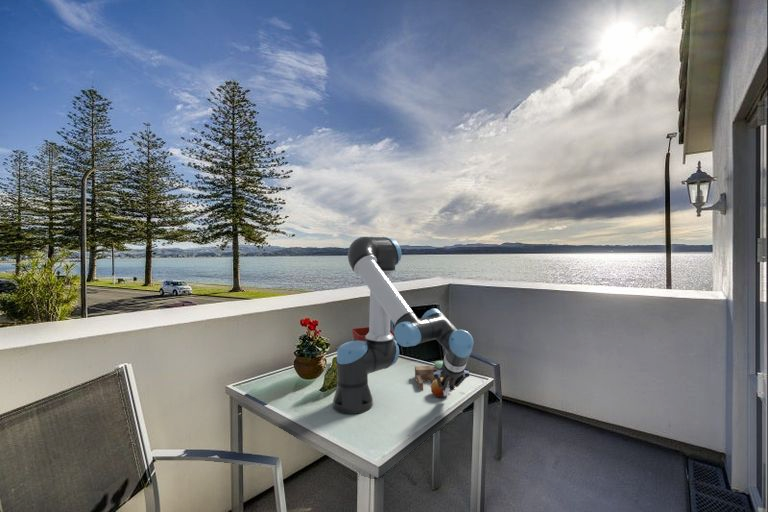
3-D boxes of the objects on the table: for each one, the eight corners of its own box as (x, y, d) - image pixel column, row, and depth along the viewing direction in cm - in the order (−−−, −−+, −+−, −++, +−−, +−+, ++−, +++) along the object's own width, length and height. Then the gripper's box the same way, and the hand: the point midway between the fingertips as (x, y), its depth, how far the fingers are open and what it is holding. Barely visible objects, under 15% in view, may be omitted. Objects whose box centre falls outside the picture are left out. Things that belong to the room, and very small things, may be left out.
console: (416, 380, 150) (416, 369, 150) (414, 376, 155) (414, 366, 155) (449, 379, 151) (448, 368, 151) (446, 375, 156) (446, 365, 156)
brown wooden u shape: (419, 390, 139) (419, 383, 139) (416, 380, 150) (416, 374, 150) (454, 389, 140) (454, 382, 140) (449, 379, 151) (448, 373, 151)
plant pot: (352, 358, 185) (351, 328, 185) (384, 354, 191) (384, 325, 191) (360, 369, 167) (359, 335, 167) (395, 364, 173) (395, 332, 173)
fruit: (454, 397, 129) (443, 378, 130) (436, 405, 131) (426, 386, 132) (456, 389, 136) (445, 371, 138) (440, 397, 139) (430, 379, 140)
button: (436, 380, 150) (436, 365, 150) (433, 375, 156) (433, 361, 156) (449, 379, 150) (449, 364, 150) (446, 375, 156) (446, 360, 156)
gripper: (437, 373, 110) (429, 402, 127) (476, 372, 111) (463, 401, 127) (434, 353, 116) (427, 383, 132) (471, 352, 116) (459, 382, 132)
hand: (445, 392), depth 130 cm, fingers closed
